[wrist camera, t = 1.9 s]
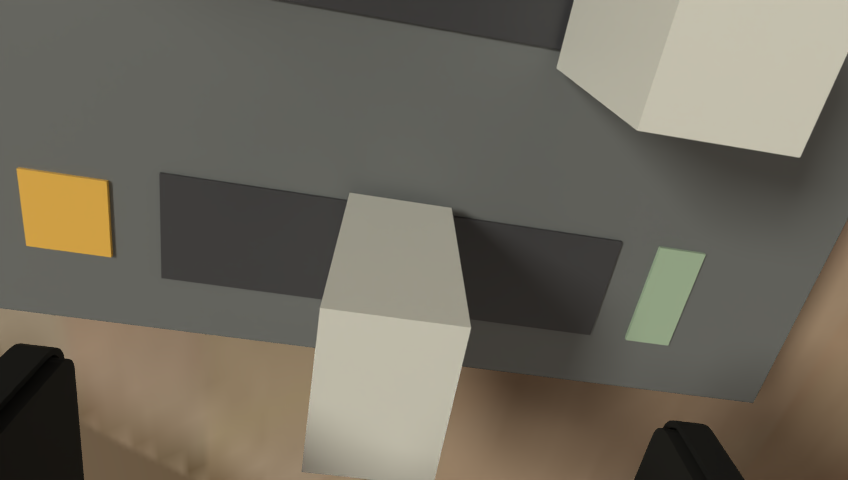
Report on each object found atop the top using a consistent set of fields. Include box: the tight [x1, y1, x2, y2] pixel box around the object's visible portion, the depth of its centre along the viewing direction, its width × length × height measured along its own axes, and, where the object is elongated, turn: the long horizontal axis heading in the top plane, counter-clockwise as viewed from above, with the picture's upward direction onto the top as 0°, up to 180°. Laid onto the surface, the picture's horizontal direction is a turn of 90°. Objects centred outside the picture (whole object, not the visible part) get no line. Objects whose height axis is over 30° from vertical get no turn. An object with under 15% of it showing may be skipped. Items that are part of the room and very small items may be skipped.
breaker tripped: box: [302, 193, 471, 480], centre depth 12 cm, size 4×2×5 cm
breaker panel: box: [0, 0, 848, 403], centre depth 15 cm, size 13×22×3 cm, turn 80°
